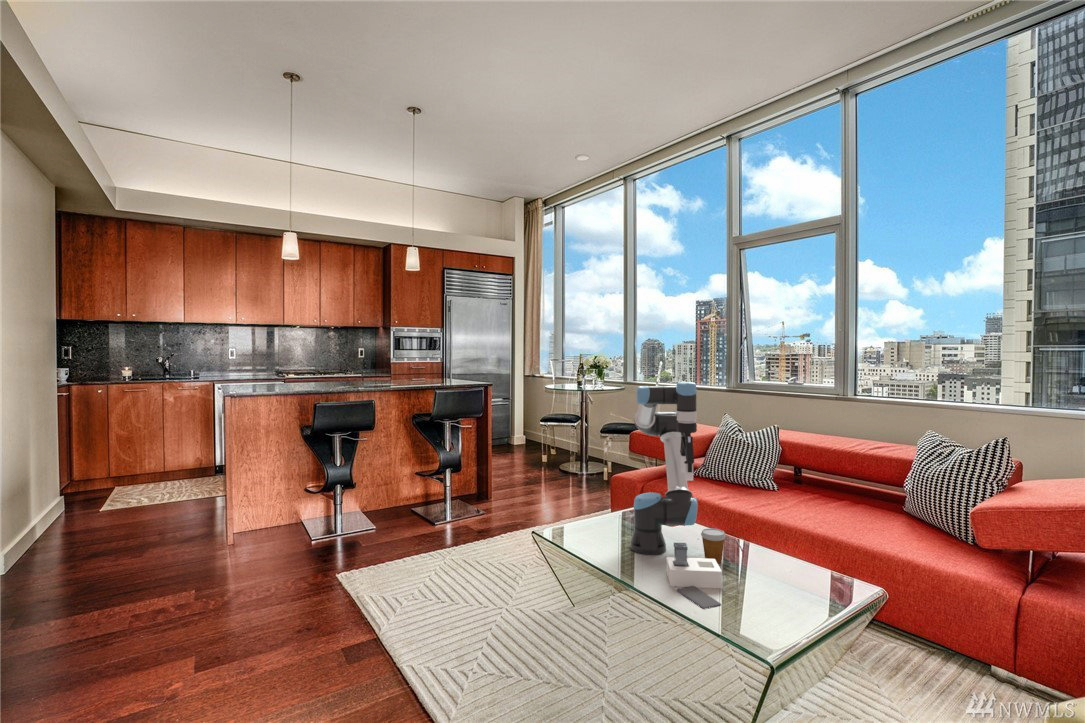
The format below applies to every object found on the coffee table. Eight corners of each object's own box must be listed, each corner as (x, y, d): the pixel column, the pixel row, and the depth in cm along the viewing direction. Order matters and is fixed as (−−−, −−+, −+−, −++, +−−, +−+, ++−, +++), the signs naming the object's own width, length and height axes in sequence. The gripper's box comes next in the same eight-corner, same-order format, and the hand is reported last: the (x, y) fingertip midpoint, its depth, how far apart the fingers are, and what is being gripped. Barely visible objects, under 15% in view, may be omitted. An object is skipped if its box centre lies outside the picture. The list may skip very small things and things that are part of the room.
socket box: (666, 572, 199) (666, 556, 199) (714, 574, 197) (714, 558, 197) (670, 586, 187) (670, 569, 187) (722, 588, 185) (721, 571, 185)
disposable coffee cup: (727, 566, 204) (727, 536, 204) (702, 565, 206) (702, 535, 206) (724, 557, 213) (723, 528, 213) (699, 556, 215) (699, 527, 215)
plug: (673, 574, 195) (673, 542, 195) (685, 574, 194) (685, 542, 194) (675, 579, 191) (675, 546, 191) (687, 579, 190) (687, 547, 190)
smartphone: (703, 608, 170) (675, 588, 184) (703, 611, 170) (675, 591, 184) (722, 603, 173) (693, 585, 186) (722, 606, 173) (693, 587, 186)
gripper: (673, 417, 215) (673, 468, 215) (680, 426, 190) (681, 484, 190) (691, 417, 214) (692, 469, 214) (702, 426, 189) (702, 484, 189)
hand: (687, 476), depth 202 cm, fingers open, 13 cm apart
